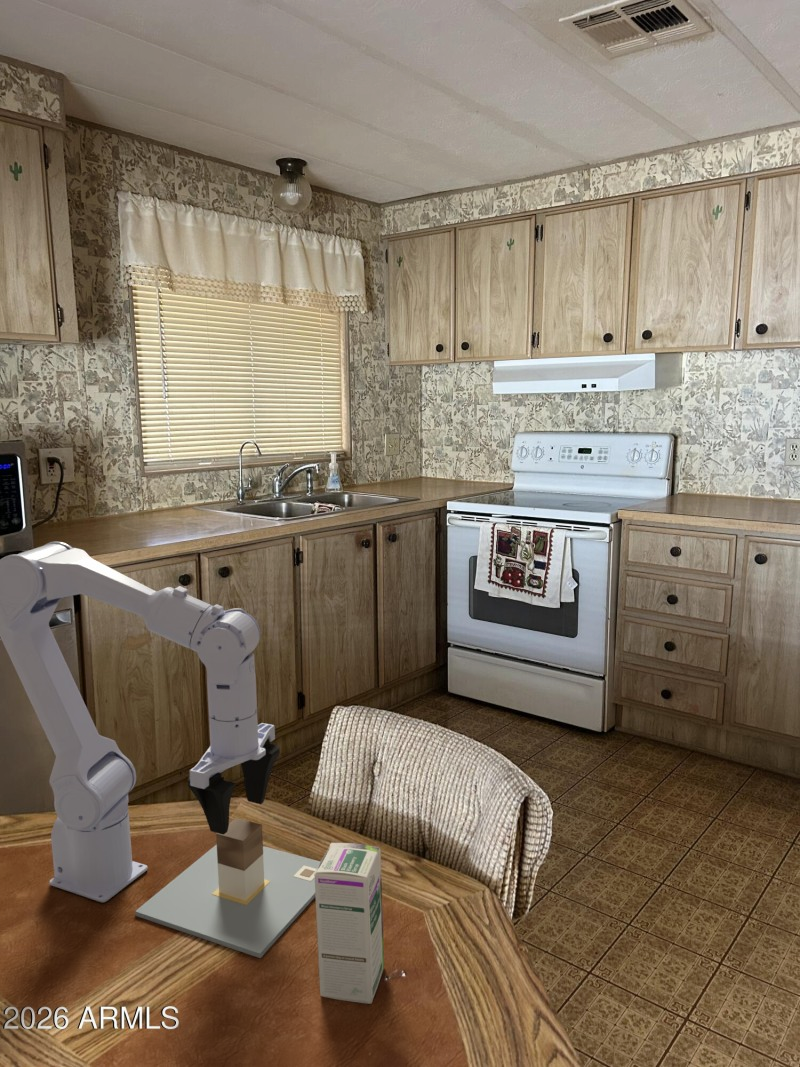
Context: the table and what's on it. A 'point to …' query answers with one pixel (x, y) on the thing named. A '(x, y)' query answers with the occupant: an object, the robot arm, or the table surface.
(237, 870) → the cream block
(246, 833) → the walnut block
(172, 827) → the table surface
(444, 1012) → the table surface
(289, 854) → the board
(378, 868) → the syrup box
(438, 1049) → the table surface
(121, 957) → the table surface
